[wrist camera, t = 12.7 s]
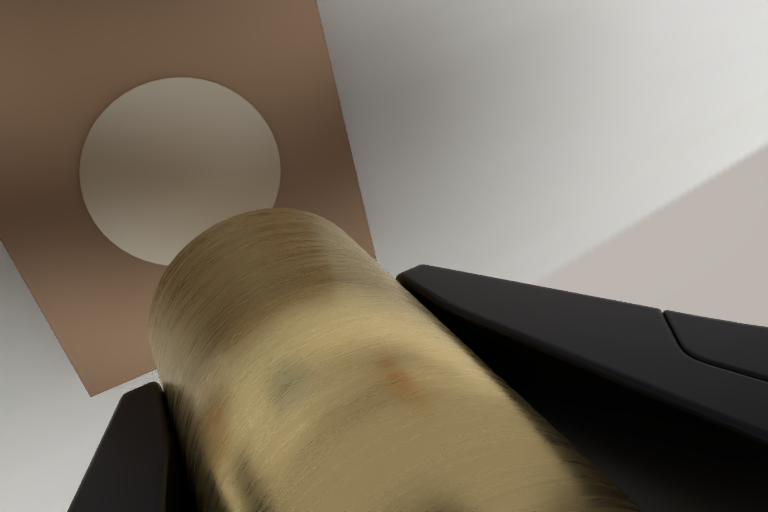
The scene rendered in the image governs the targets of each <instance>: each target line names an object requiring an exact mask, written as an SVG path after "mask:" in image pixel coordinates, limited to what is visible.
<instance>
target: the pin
mask: <svg viewBox="0 0 768 512" xmlns="http://www.w3.org/2000/svg"><path fill="white" fill-rule="evenodd" d="M148 331H149V341H150V346H151V350H152V354H153V358H154V361H155V365H156V368H157V372H158V375H159V379H160V382H161V386H162V390H163V392H164V395H165V399H166V402H167V406H168V409H169V413H170V416H171V420H172V423H173V427H174V431H175V434H176V438H177V441H178V445H179V448H180V452H181V455H182V459H183V463H184V466H185V470H186V474H187V478H188V482H189V486H190V489H191V493H192V496H193V500H194V503H195V507H196V510H197V512H644V511H643V510H642V509H641V508H640V507H639V506H638V505H637V504H636V503H635V502H634V501H632V500H631V499H630V498H629V497H628V496H627V495H626V494H625V493H624V492H623V491H622V490H621V489H620V488H619V487H617V486H616V485H615V484H614V483H613V482H612V481H611V480H610V479H609V478H608V477H607V476H606V475H605V474H604V473H602V472H601V471H600V470H599V469H598V468H597V467H596V466H595V465H594V464H593V463H592V462H591V461H590V460H589V459H587V458H586V457H585V456H584V455H583V454H582V453H581V452H580V451H579V450H578V449H577V448H576V447H575V446H574V445H572V444H571V443H570V442H569V441H568V440H567V439H566V438H565V437H564V436H563V435H562V434H561V433H560V432H559V431H557V430H556V429H555V428H554V427H553V426H552V425H551V424H550V423H549V422H548V421H547V420H546V419H545V418H544V417H542V416H541V415H540V414H539V413H538V412H537V411H536V410H535V409H534V408H533V407H532V406H531V405H530V404H529V403H527V402H526V401H525V400H524V399H523V398H522V397H521V396H520V395H519V394H518V393H517V392H516V391H515V390H514V389H512V388H511V387H510V386H509V385H508V384H507V383H506V382H505V381H504V380H503V379H502V378H501V377H500V376H499V375H497V374H496V373H495V372H494V371H493V370H492V369H491V368H490V367H489V366H488V365H487V364H486V363H485V362H484V361H482V360H481V359H480V358H479V357H478V356H477V355H476V354H475V353H474V352H473V351H472V350H471V349H470V348H469V347H467V346H466V345H465V344H464V343H463V342H462V341H461V340H460V339H459V338H458V337H457V336H456V335H455V334H454V333H452V332H451V331H450V330H449V329H448V328H447V327H446V326H445V325H444V324H443V323H442V322H441V321H440V320H438V319H437V318H436V317H435V316H434V315H433V314H432V313H431V312H430V311H429V310H428V309H427V308H426V307H425V306H423V305H422V304H421V303H420V302H419V301H418V300H417V299H416V298H415V297H414V296H413V295H412V294H411V293H410V292H408V291H407V290H406V289H405V288H404V287H403V286H402V285H401V284H400V283H399V282H398V281H397V280H396V279H395V278H393V277H392V276H391V275H390V274H389V273H388V272H387V271H386V270H385V269H384V268H383V267H382V266H381V265H380V264H378V263H377V262H376V261H375V260H374V259H373V258H372V257H371V256H370V255H369V254H368V253H367V252H366V251H365V250H363V249H362V248H361V247H360V246H359V245H358V244H357V243H356V242H355V241H354V240H353V239H352V238H351V237H350V236H348V235H347V234H346V233H345V232H344V231H343V230H342V229H340V228H339V227H338V226H336V225H335V224H334V223H332V222H330V221H329V220H327V219H325V218H323V217H321V216H318V215H316V214H313V213H310V212H307V211H302V210H297V209H289V208H265V209H259V210H253V211H248V212H245V213H241V214H238V215H235V216H232V217H230V218H228V219H225V220H223V221H221V222H219V223H217V224H215V225H213V226H212V227H210V228H208V229H207V230H205V231H203V232H202V233H201V234H199V235H198V236H197V237H195V238H194V239H193V240H192V241H190V242H189V243H188V244H187V245H186V246H185V247H184V248H183V249H182V250H181V251H180V252H179V253H178V254H177V255H176V257H175V258H174V259H173V261H172V262H171V263H170V264H169V266H168V267H167V269H166V270H165V272H164V274H163V275H162V277H161V279H160V281H159V283H158V285H157V288H156V290H155V292H154V295H153V299H152V302H151V306H150V311H149V320H148Z"/></svg>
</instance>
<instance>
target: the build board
mask: <svg viewBox="0 0 768 512" xmlns="http://www.w3.org/2000/svg"><path fill="white" fill-rule="evenodd" d="M265 208H289V209H297V210H302V211H307V212H310V213H313V214H316V215H318V216H321V217H323V218H325V219H327V220H329V221H330V222H332V223H334V224H335V225H336V226H338V227H339V228H340V229H342V230H343V231H344V232H345V233H346V234H347V235H348V236H350V237H351V238H352V239H353V240H354V241H355V242H356V243H357V244H358V245H359V246H360V247H361V248H362V249H363V250H365V251H366V252H367V253H368V254H369V255H370V256H371V257H372V258H373V259H374V260H375V261H376V256H375V252H374V248H373V243H372V239H371V235H370V231H369V226H368V222H367V218H366V213H365V209H364V205H363V200H362V196H361V192H360V188H359V183H358V179H357V175H356V170H355V166H354V162H353V158H352V153H351V149H350V145H349V140H348V136H347V132H346V128H345V123H344V119H343V115H342V110H341V106H340V102H339V98H338V93H337V89H336V85H335V80H334V76H333V72H332V68H331V63H330V59H329V55H328V50H327V46H326V42H325V37H324V33H323V29H322V25H321V20H320V16H319V12H318V7H317V3H316V0H0V239H1V241H2V243H3V245H4V246H5V248H6V250H7V252H8V253H9V255H10V257H11V259H12V260H13V262H14V264H15V266H16V267H17V269H18V271H19V273H20V274H21V276H22V278H23V280H24V281H25V283H26V285H27V287H28V288H29V290H30V292H31V294H32V295H33V297H34V299H35V301H36V302H37V304H38V306H39V308H40V309H41V311H42V313H43V315H44V316H45V318H46V320H47V322H48V323H49V325H50V327H51V329H52V330H53V332H54V334H55V336H56V337H57V339H58V341H59V343H60V344H61V346H62V348H63V350H64V351H65V353H66V355H67V357H68V358H69V360H70V362H71V364H72V365H73V367H74V369H75V371H76V372H77V374H78V376H79V378H80V379H81V381H82V383H83V385H84V386H85V388H86V390H87V392H88V393H89V395H90V397H92V396H95V395H97V394H99V393H102V392H104V391H106V390H109V389H111V388H113V387H116V386H118V385H120V384H122V383H125V382H127V381H129V380H132V379H134V378H136V377H139V376H141V375H143V374H146V373H148V372H150V371H153V370H155V369H157V368H156V365H155V361H154V358H153V354H152V350H151V346H150V341H149V331H148V320H149V311H150V306H151V302H152V299H153V295H154V292H155V290H156V288H157V285H158V283H159V281H160V279H161V277H162V275H163V274H164V272H165V270H166V269H167V267H168V266H169V264H170V263H171V262H172V261H173V259H174V258H175V257H176V255H177V254H178V253H179V252H180V251H181V250H182V249H183V248H184V247H185V246H186V245H187V244H188V243H189V242H190V241H192V240H193V239H194V238H195V237H197V236H198V235H199V234H201V233H202V232H203V231H205V230H207V229H208V228H210V227H212V226H213V225H215V224H217V223H219V222H221V221H223V220H225V219H228V218H230V217H232V216H235V215H238V214H241V213H245V212H248V211H253V210H259V209H265ZM376 262H377V261H376Z"/></svg>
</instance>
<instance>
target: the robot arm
mask: <svg viewBox="0 0 768 512" xmlns="http://www.w3.org/2000/svg"><path fill="white" fill-rule="evenodd" d="M396 280H397V281H398V282H399V283H400V284H401V285H402V286H403V287H404V288H405V289H406V290H407V291H408V292H410V293H411V294H412V295H413V296H414V297H415V298H416V299H417V300H418V301H419V302H420V303H421V304H422V305H423V306H425V307H426V308H427V309H428V310H429V311H430V312H431V313H432V314H433V315H434V316H435V317H436V318H437V319H438V320H440V321H441V322H442V323H443V324H444V325H445V326H446V327H447V328H448V329H449V330H450V331H451V332H452V333H454V334H455V335H456V336H457V337H458V338H459V339H460V340H461V341H462V342H463V343H464V344H465V345H466V346H467V347H469V348H470V349H471V350H472V351H473V352H474V353H475V354H476V355H477V356H478V357H479V358H480V359H481V360H482V361H484V362H485V363H486V364H487V365H488V366H489V367H490V368H491V369H492V370H493V371H494V372H495V373H496V374H497V375H499V376H500V377H501V378H502V379H503V380H504V381H505V382H506V383H507V384H508V385H509V386H510V387H511V388H512V389H514V390H515V391H516V392H517V393H518V394H519V395H520V396H521V397H522V398H523V399H524V400H525V401H526V402H527V403H529V404H530V405H531V406H532V407H533V408H534V409H535V410H536V411H537V412H538V413H539V414H540V415H541V416H542V417H544V418H545V419H546V420H547V421H548V422H549V423H550V424H551V425H552V426H553V427H554V428H555V429H556V430H557V431H559V432H560V433H561V434H562V435H563V436H564V437H565V438H566V439H567V440H568V441H569V442H570V443H571V444H572V445H574V446H575V447H576V448H577V449H578V450H579V451H580V452H581V453H582V454H583V455H584V456H585V457H586V458H587V459H589V460H590V461H591V462H592V463H593V464H594V465H595V466H596V467H597V468H598V469H599V470H600V471H601V472H602V473H604V474H605V475H606V476H607V477H608V478H609V479H610V480H611V481H612V482H613V483H614V484H615V485H616V486H617V487H619V488H620V489H621V490H622V491H623V492H624V493H625V494H626V495H627V496H628V497H629V498H630V499H631V500H632V501H634V502H635V503H636V504H637V505H638V506H639V507H640V508H641V509H642V510H643V511H644V512H768V327H764V326H756V325H749V324H743V323H737V322H731V321H725V320H719V319H713V318H707V317H701V316H695V315H690V314H685V313H680V312H675V311H669V310H665V311H664V312H663V313H662V312H661V310H660V309H658V308H653V307H648V306H642V305H637V304H631V303H626V302H621V301H616V300H610V299H605V298H599V297H594V296H589V295H583V294H579V293H573V292H568V291H563V290H557V289H552V288H546V287H541V286H536V285H531V284H525V283H520V282H515V281H509V280H504V279H499V278H493V277H488V276H483V275H477V274H472V273H467V272H462V271H456V270H451V269H446V268H440V267H435V266H430V265H418V266H416V267H414V268H411V269H409V270H407V271H405V272H402V273H400V274H398V275H397V277H396ZM67 512H197V510H196V507H195V503H194V500H193V496H192V493H191V489H190V486H189V482H188V478H187V474H186V470H185V466H184V463H183V459H182V455H181V452H180V448H179V445H178V441H177V438H176V434H175V431H174V427H173V423H172V420H171V416H170V413H169V409H168V406H167V402H166V399H165V395H164V392H163V390H162V388H161V386H160V385H159V384H158V383H157V382H150V383H148V384H145V385H143V386H141V387H138V388H136V389H134V390H132V391H129V392H127V393H125V394H124V395H123V396H122V397H121V399H120V401H119V403H118V405H117V407H116V409H115V411H114V414H113V416H112V418H111V420H110V422H109V424H108V426H107V428H106V431H105V433H104V435H103V437H102V439H101V441H100V443H99V445H98V448H97V450H96V452H95V454H94V456H93V458H92V460H91V462H90V465H89V467H88V469H87V471H86V473H85V475H84V477H83V479H82V482H81V484H80V486H79V488H78V490H77V492H76V494H75V496H74V499H73V501H72V503H71V505H70V507H69V509H68V511H67Z"/></svg>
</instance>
